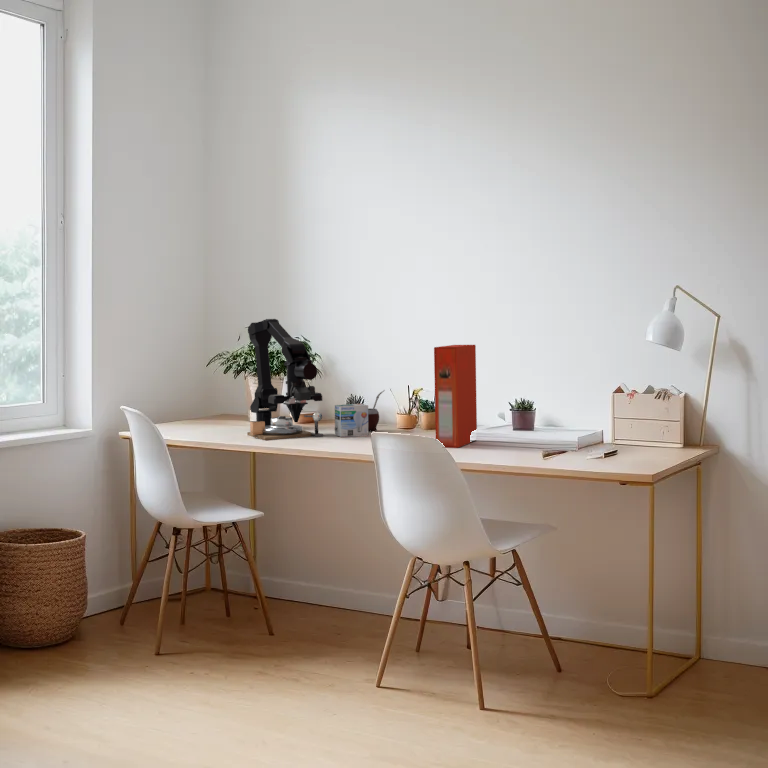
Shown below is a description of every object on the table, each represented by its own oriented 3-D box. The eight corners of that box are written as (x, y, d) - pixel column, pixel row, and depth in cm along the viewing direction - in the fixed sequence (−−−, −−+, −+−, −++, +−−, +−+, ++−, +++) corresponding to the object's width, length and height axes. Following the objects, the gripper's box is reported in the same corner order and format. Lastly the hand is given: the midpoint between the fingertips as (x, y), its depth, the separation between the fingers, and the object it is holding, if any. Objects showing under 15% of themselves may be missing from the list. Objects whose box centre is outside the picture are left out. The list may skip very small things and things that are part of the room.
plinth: (247, 435, 353) (247, 432, 353) (296, 431, 362) (296, 428, 362) (264, 440, 339) (264, 437, 339) (315, 436, 348) (315, 433, 348)
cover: (266, 426, 351) (265, 416, 351) (287, 425, 356) (287, 414, 355) (275, 429, 344) (275, 418, 344) (297, 427, 348) (297, 416, 348)
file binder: (434, 446, 318) (434, 346, 315) (454, 439, 333) (453, 344, 331) (458, 448, 314) (457, 347, 312) (477, 441, 330) (476, 344, 327)
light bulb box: (340, 437, 344) (340, 406, 343) (334, 435, 350) (333, 404, 349) (369, 435, 348) (369, 404, 347) (362, 433, 354) (362, 403, 353)
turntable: (244, 432, 352) (243, 420, 351) (292, 428, 360) (291, 416, 360) (259, 436, 338) (259, 424, 338) (309, 432, 347) (309, 420, 347)
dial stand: (304, 436, 348) (303, 411, 348) (316, 434, 351) (316, 410, 350) (310, 437, 344) (309, 412, 343) (323, 436, 346) (322, 412, 346)
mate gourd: (356, 431, 360) (355, 389, 359) (373, 429, 365) (373, 388, 364) (368, 433, 354) (367, 391, 353) (385, 431, 359) (385, 389, 358)
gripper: (279, 381, 340) (280, 426, 341) (328, 378, 349) (329, 422, 350) (267, 379, 350) (268, 423, 351) (315, 376, 359) (316, 419, 360)
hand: (296, 422), depth 353 cm, fingers closed
